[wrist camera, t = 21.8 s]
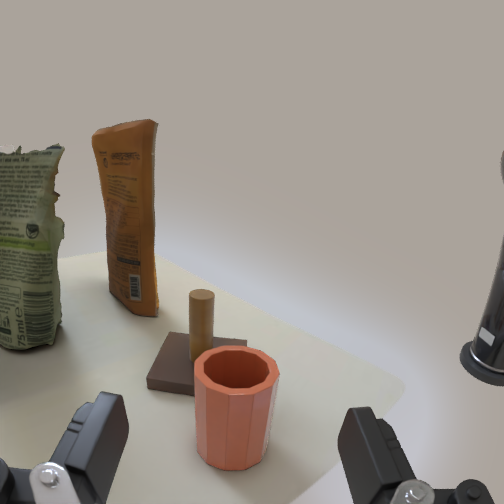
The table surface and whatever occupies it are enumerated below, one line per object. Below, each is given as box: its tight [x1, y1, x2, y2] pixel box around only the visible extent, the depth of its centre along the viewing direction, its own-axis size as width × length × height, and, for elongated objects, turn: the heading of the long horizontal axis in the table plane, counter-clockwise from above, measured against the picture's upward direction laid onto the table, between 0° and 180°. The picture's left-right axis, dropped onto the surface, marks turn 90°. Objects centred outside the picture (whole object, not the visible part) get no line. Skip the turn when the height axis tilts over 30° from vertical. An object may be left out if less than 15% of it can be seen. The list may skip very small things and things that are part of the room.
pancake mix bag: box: [92, 119, 159, 316], centre depth 47 cm, size 7×19×28 cm, turn 46°
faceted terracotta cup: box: [194, 346, 280, 471], centre depth 23 cm, size 6×6×9 cm
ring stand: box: [146, 289, 247, 396], centre depth 34 cm, size 10×10×10 cm
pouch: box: [0, 144, 65, 350], centre depth 32 cm, size 11×12×25 cm
